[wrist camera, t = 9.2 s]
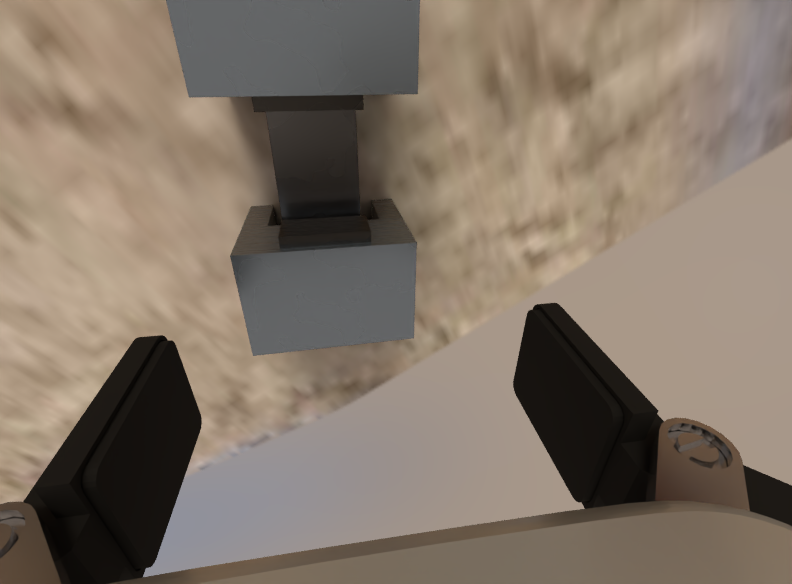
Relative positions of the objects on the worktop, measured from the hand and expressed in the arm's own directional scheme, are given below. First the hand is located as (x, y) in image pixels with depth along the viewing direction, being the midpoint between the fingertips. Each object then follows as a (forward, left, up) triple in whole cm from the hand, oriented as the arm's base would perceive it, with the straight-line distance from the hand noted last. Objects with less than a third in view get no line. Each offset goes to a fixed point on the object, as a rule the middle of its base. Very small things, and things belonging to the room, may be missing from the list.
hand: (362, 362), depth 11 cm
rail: (+1, -4, -9) cm, 10 cm away
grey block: (+1, 0, -9) cm, 9 cm away
